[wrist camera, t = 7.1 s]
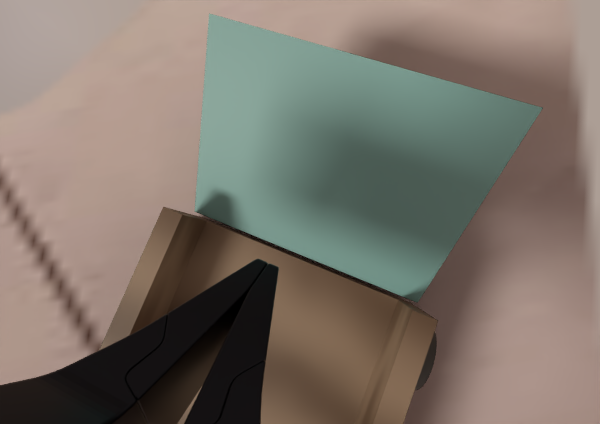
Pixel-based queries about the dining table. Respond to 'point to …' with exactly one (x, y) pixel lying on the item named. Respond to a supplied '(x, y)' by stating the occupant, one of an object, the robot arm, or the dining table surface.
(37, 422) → the robot arm
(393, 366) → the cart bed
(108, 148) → the dining table surface
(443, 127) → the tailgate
